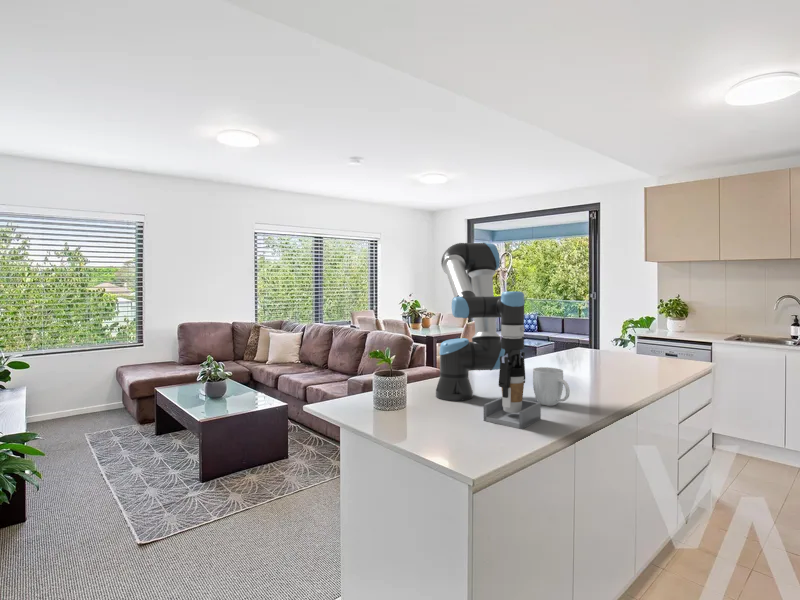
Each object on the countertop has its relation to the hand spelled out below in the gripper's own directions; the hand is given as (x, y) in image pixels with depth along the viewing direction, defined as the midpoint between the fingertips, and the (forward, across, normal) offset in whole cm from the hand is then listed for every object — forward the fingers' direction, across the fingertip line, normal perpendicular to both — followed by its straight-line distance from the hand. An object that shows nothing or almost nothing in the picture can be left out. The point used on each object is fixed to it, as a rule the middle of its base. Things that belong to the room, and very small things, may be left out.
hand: (512, 404), depth 155 cm
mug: (+6, +27, -2) cm, 28 cm away
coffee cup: (+2, 0, 0) cm, 2 cm away
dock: (+5, 0, 0) cm, 5 cm away
